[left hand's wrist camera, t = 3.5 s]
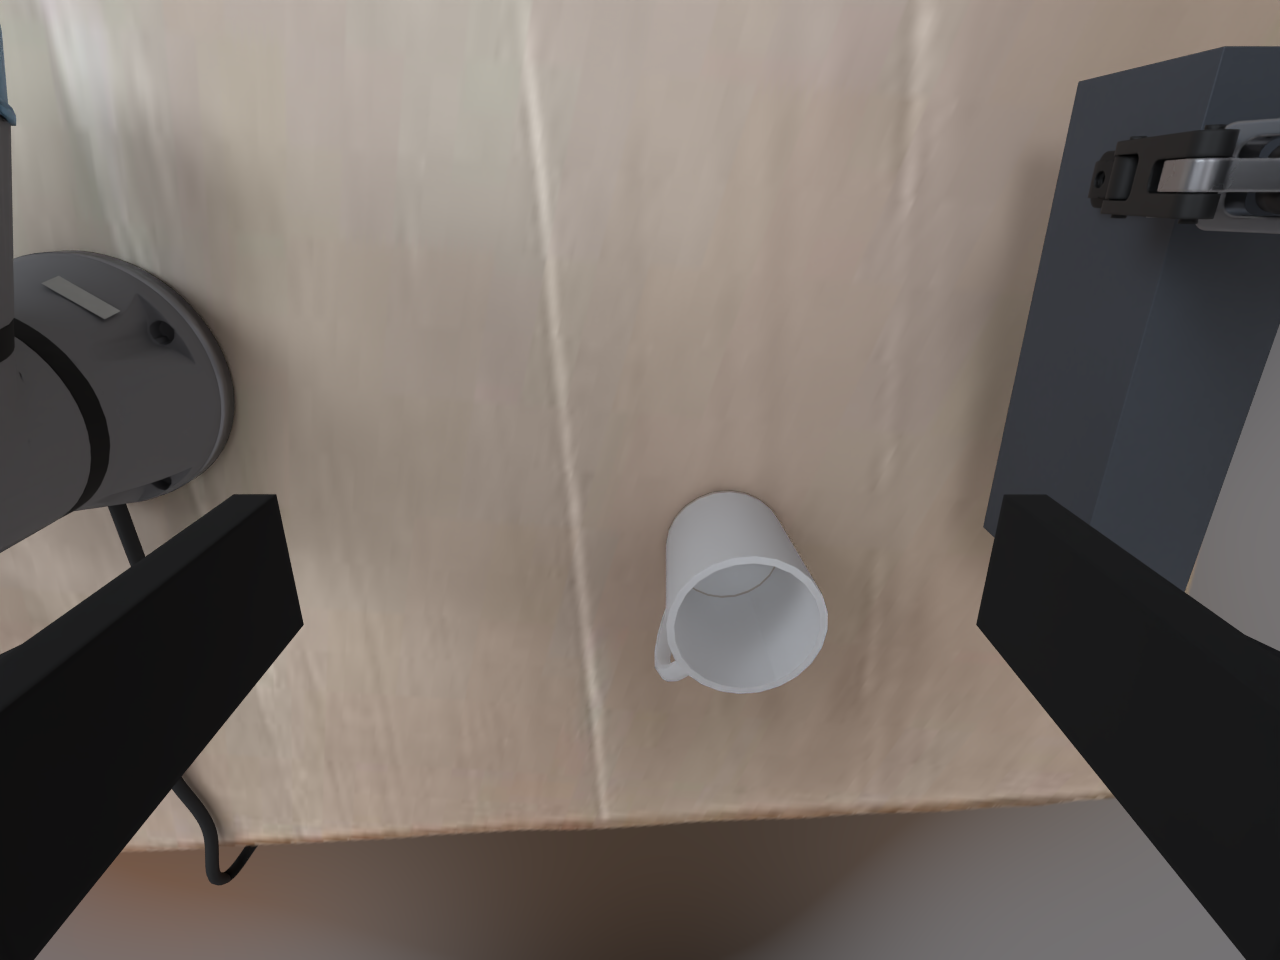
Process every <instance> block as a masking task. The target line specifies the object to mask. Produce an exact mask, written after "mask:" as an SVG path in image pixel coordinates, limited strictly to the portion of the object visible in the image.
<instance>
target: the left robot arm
mask: <svg viewBox="0 0 1280 960" xmlns="http://www.w3.org/2000/svg"><path fill="white" fill-rule="evenodd" d="M11 126H16V115H15V113H14V111H13V109H12V107H11V106H10V105H9V104H8V99H7V87H6V75H5V64H4V52H3V41H2V31H1V26H0V553H1V552H3V551H4V550H6V549H8V548H10V547H11V546H13V545H15V544H16V543H18V542H20V541H22V540H23V539H25V538H27V537H29V536H30V535H32V534H34V533H36V532H37V531H39V530H41V529H43V528H44V527H46V526H48V525H49V524H51V523H53V522H55V521H56V520H58V519H60V518H62V517H64V516H65V515H67V514H69V513H71V512H73V511H78V510H85V509H92V508H99V507H106V506H108V508H109V510H110V513H111V516H112V518H113V521H114V524H115V526H116V529H117V532H118V534H119V537H120V540H121V542H122V545H123V547H124V550H125V553H126V555H127V558H128V560H129V563H130V565H131V567H130V568H129V569H128V570H126V571H125V572H123V573H122V574H121V575H119V576H118V577H116V578H115V579H113V580H112V581H111V582H109V583H108V584H106V585H105V586H104V587H102V588H101V589H99V590H98V591H97V592H95V593H94V594H92V595H91V596H89V597H88V598H87V599H85V600H84V601H82V602H81V603H80V604H78V605H77V606H75V607H74V608H72V609H71V610H70V611H68V612H67V613H65V614H64V615H63V616H61V617H60V618H58V619H57V620H56V621H54V622H53V623H51V624H50V625H48V626H47V627H46V628H44V629H43V630H41V631H40V632H39V633H37V634H36V635H34V636H33V637H31V638H30V639H29V640H27V641H26V642H24V643H23V644H21V645H19V646H17V647H15V648H13V649H11V650H9V651H7V652H5V653H2V654H0V960H34V959H35V958H36V956H37V955H38V954H39V953H40V951H41V950H42V949H43V948H44V946H45V945H46V944H47V943H48V942H49V940H50V939H51V938H52V937H53V935H54V934H55V933H56V932H57V930H58V929H59V928H60V927H61V925H62V924H63V923H64V922H65V920H66V919H67V918H68V917H69V915H70V914H71V913H72V912H73V910H74V909H75V908H76V907H77V906H78V904H79V903H80V902H81V900H82V899H83V898H84V897H85V896H86V894H87V893H88V892H89V891H90V889H91V888H92V887H93V886H94V884H95V883H96V882H97V881H98V879H99V878H100V877H101V876H102V874H103V873H104V872H105V871H106V870H107V868H108V867H109V866H110V865H111V863H112V862H113V861H114V860H115V858H116V857H117V856H118V855H119V853H120V852H121V851H122V850H123V848H124V847H125V846H126V845H127V843H128V842H129V841H130V840H131V838H132V837H133V836H134V835H135V834H136V832H137V831H138V830H139V829H140V827H141V826H142V825H143V824H144V822H145V821H146V820H147V819H148V817H149V816H150V815H151V814H152V812H153V811H154V810H155V809H156V807H157V806H158V805H159V804H160V802H161V801H162V800H163V799H164V797H165V796H166V795H167V794H168V793H169V791H170V790H171V789H172V790H173V791H174V792H175V794H176V795H177V796H178V797H179V798H180V800H181V801H182V802H183V803H184V804H185V806H186V807H187V808H188V809H189V810H190V812H191V813H192V814H193V816H194V817H195V819H196V820H197V822H198V823H199V826H200V828H201V830H202V833H203V836H204V842H205V867H206V874H207V877H208V879H209V881H210V882H211V883H212V884H215V885H223V884H226V883H228V882H230V881H231V880H232V879H233V878H234V877H235V876H236V875H237V874H238V873H239V872H240V871H241V869H242V868H243V867H244V865H245V864H246V862H247V861H248V859H249V858H250V857H251V855H252V854H253V852H254V851H255V849H256V848H257V846H258V845H246V846H245V847H244V849H243V850H242V852H241V853H240V855H239V856H238V857H237V859H236V860H235V861H234V863H233V864H232V865H231V866H230V867H229V868H228V869H227V870H226V871H225V872H222V873H221V872H220V869H219V845H218V835H217V830H216V827H215V824H214V822H213V820H212V818H211V816H210V814H209V812H208V811H207V809H206V808H205V806H204V805H203V804H202V802H201V801H200V800H199V798H198V797H197V796H196V795H195V794H194V792H193V791H192V790H191V789H190V788H189V786H188V785H187V784H186V782H185V781H184V780H183V778H182V777H181V776H182V775H183V774H184V773H185V771H186V770H187V769H188V768H189V766H190V765H191V764H192V763H193V761H194V760H195V759H196V758H197V757H198V755H199V754H200V753H201V752H202V750H203V749H204V748H205V747H206V745H207V744H208V743H209V742H210V740H211V739H212V738H213V737H214V735H215V734H216V733H217V732H218V730H219V729H220V728H221V727H222V725H223V724H224V723H225V722H226V721H227V719H228V718H229V717H230V716H231V714H232V713H233V712H234V711H235V709H236V708H237V707H238V706H239V704H240V703H241V702H242V701H243V699H244V698H245V697H246V696H247V694H248V693H249V692H250V691H251V689H252V688H253V687H254V686H255V685H256V683H257V682H258V681H259V680H260V678H261V677H262V676H263V675H264V673H265V672H266V671H267V670H268V668H269V667H270V666H271V665H272V663H273V662H274V661H275V660H276V658H277V657H278V656H279V655H280V653H281V652H282V651H283V650H284V649H285V647H286V646H287V645H288V644H289V642H290V641H291V640H292V639H293V637H294V636H295V635H296V634H297V632H298V631H299V630H300V629H301V627H302V626H303V625H304V624H303V619H302V614H301V610H300V605H299V600H298V595H297V591H296V586H295V581H294V576H293V572H292V567H291V562H290V557H289V553H288V548H287V543H286V538H285V534H284V529H283V524H282V519H281V515H280V510H279V505H278V500H277V496H276V494H234V495H232V496H231V497H229V498H228V499H227V500H225V501H224V502H222V503H221V504H220V505H218V506H217V507H215V508H214V509H212V510H211V511H210V512H208V513H207V514H205V515H204V516H203V517H201V518H200V519H198V520H197V521H195V522H194V523H193V524H191V525H190V526H188V527H187V528H186V529H184V530H183V531H181V532H180V533H179V534H177V535H176V536H174V537H173V538H171V539H170V540H169V541H167V542H166V543H164V544H163V545H162V546H160V547H159V548H157V549H156V550H154V551H153V552H152V553H150V554H149V555H147V556H146V557H145V554H144V552H143V549H142V546H141V544H140V541H139V538H138V536H137V533H136V530H135V527H134V525H133V522H132V519H131V516H130V513H129V511H128V508H127V505H126V503H133V502H140V501H144V500H149V499H152V498H155V497H158V496H161V495H164V494H167V493H169V492H172V491H174V490H176V489H178V488H179V487H181V486H183V485H185V484H186V483H188V482H189V481H191V480H193V479H194V478H196V477H197V476H199V475H200V474H201V473H203V472H204V471H205V470H206V469H207V468H208V467H210V466H211V465H212V463H213V462H214V461H215V460H216V459H217V457H218V456H219V454H220V453H221V451H222V450H223V448H224V446H225V444H226V442H227V440H228V437H229V434H230V431H231V427H232V423H233V415H234V393H233V385H232V380H231V376H230V372H229V369H228V366H227V363H226V360H225V358H224V355H223V353H222V351H221V349H220V347H219V345H218V343H217V341H216V339H215V337H214V336H213V334H212V333H211V331H210V329H209V328H208V327H207V325H206V324H205V323H204V321H203V320H202V318H201V317H200V316H199V315H198V314H197V313H196V311H195V310H194V309H193V308H192V307H191V306H190V305H189V304H188V303H187V302H186V301H185V300H184V299H183V298H182V297H181V296H180V295H179V294H178V293H176V292H175V291H174V290H173V289H172V288H170V287H169V286H168V285H166V284H165V283H164V282H162V281H161V280H159V279H158V278H156V277H155V276H153V275H151V274H150V273H148V272H146V271H144V270H142V269H140V268H138V267H136V266H134V265H132V264H130V263H127V262H125V261H122V260H120V259H117V258H114V257H110V256H107V255H103V254H98V253H93V252H85V251H56V252H44V253H34V254H29V255H24V256H21V257H18V258H15V259H13V218H12V166H11ZM976 625H977V626H978V627H979V629H980V630H981V631H982V632H983V634H984V635H985V636H986V637H987V639H988V640H989V641H990V642H991V644H992V645H993V646H994V647H995V649H996V650H997V651H998V652H999V653H1000V655H1001V656H1002V657H1003V658H1004V660H1005V661H1006V662H1007V663H1008V665H1009V666H1010V667H1011V668H1012V670H1013V671H1014V672H1015V673H1016V675H1017V676H1018V677H1019V678H1020V680H1021V681H1022V682H1023V683H1024V685H1025V686H1026V687H1027V688H1028V689H1029V691H1030V692H1031V693H1032V694H1033V696H1034V697H1035V698H1036V699H1037V701H1038V702H1039V703H1040V704H1041V706H1042V707H1043V708H1044V709H1045V711H1046V712H1047V713H1048V714H1049V716H1050V717H1051V718H1052V719H1053V721H1054V722H1055V723H1056V724H1057V725H1058V727H1059V728H1060V729H1061V730H1062V732H1063V733H1064V734H1065V735H1066V737H1067V738H1068V739H1069V740H1070V742H1071V743H1072V744H1073V745H1074V747H1075V748H1076V749H1077V750H1078V752H1079V753H1080V754H1081V755H1082V757H1083V758H1084V759H1085V760H1086V761H1087V763H1088V764H1089V765H1090V766H1091V768H1092V769H1093V770H1094V771H1095V773H1096V774H1097V775H1098V776H1099V778H1100V779H1101V780H1102V781H1103V783H1104V784H1105V785H1106V786H1107V788H1108V789H1109V790H1110V791H1111V793H1112V794H1113V795H1114V796H1115V798H1116V799H1117V800H1118V801H1119V802H1120V804H1121V805H1122V806H1123V807H1124V809H1125V810H1126V811H1127V812H1128V814H1129V815H1130V816H1131V817H1132V819H1133V820H1134V821H1135V822H1136V824H1137V825H1138V826H1139V827H1140V829H1141V830H1142V831H1143V832H1144V833H1145V835H1146V836H1147V837H1148V838H1149V840H1150V841H1151V842H1152V843H1153V845H1154V846H1155V847H1156V848H1157V850H1158V851H1159V852H1160V853H1161V855H1162V856H1163V857H1164V858H1165V860H1166V861H1167V862H1168V863H1169V865H1170V866H1171V867H1172V868H1173V870H1174V871H1175V872H1176V873H1177V874H1178V876H1179V877H1180V878H1181V879H1182V881H1183V882H1184V883H1185V884H1186V886H1187V887H1188V888H1189V889H1190V891H1191V892H1192V893H1193V894H1194V896H1195V897H1196V898H1197V899H1198V901H1199V902H1200V903H1201V904H1202V906H1203V907H1204V908H1205V909H1206V910H1207V912H1208V913H1209V914H1210V915H1211V917H1212V918H1213V919H1214V920H1215V922H1216V923H1217V924H1218V925H1219V927H1220V928H1221V929H1222V930H1223V932H1224V933H1225V934H1226V935H1227V937H1228V938H1229V939H1230V940H1231V942H1232V943H1233V944H1234V945H1235V946H1236V948H1237V949H1238V950H1239V951H1240V953H1241V954H1242V955H1243V956H1244V958H1245V959H1246V960H1280V651H1278V650H1276V649H1274V648H1271V647H1269V646H1267V645H1265V644H1263V643H1261V642H1259V641H1257V640H1254V639H1252V638H1250V637H1248V636H1246V635H1244V634H1243V633H1241V632H1240V631H1239V630H1237V629H1236V628H1234V627H1233V626H1232V625H1230V624H1229V623H1227V622H1226V621H1224V620H1223V619H1222V618H1220V617H1219V616H1217V615H1216V614H1215V613H1213V612H1212V611H1210V610H1209V609H1208V608H1206V607H1205V606H1203V605H1202V604H1200V603H1199V602H1198V601H1196V600H1195V599H1193V598H1192V597H1191V596H1189V595H1188V594H1186V593H1185V592H1183V591H1182V590H1181V589H1179V588H1178V587H1176V586H1175V585H1174V584H1172V583H1171V582H1169V581H1168V580H1167V579H1165V578H1164V577H1162V576H1161V575H1159V574H1158V573H1157V572H1155V571H1154V570H1152V569H1151V568H1150V567H1148V566H1147V565H1145V564H1144V563H1142V562H1141V561H1140V560H1138V559H1137V558H1135V557H1134V556H1133V555H1131V554H1130V553H1128V552H1127V551H1126V550H1124V549H1123V548H1121V547H1120V546H1118V545H1117V544H1116V543H1114V542H1113V541H1111V540H1110V539H1109V538H1107V537H1106V536H1104V535H1103V534H1101V533H1100V532H1099V531H1097V530H1096V529H1094V528H1093V527H1092V526H1090V525H1089V524H1087V523H1086V522H1085V521H1083V520H1082V519H1080V518H1079V517H1077V516H1076V515H1075V514H1073V513H1072V512H1070V511H1069V510H1068V509H1066V508H1065V507H1063V506H1062V505H1060V504H1059V503H1058V502H1056V501H1055V500H1053V499H1052V498H1051V497H1049V496H1048V495H1046V494H1004V496H1003V500H1002V505H1001V510H1000V515H999V519H998V524H997V529H996V534H995V538H994V543H993V548H992V553H991V557H990V562H989V567H988V572H987V576H986V581H985V586H984V591H983V595H982V600H981V605H980V610H979V614H978V619H977V624H976Z"/></svg>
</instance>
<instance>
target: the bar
mask: <svg viewBox="0 0 1280 960" xmlns="http://www.w3.org/2000/svg"><path fill="white" fill-rule="evenodd" d="M1274 118H1280V46H1225V47H1220V48H1216V49H1212V50H1208V51H1204V52H1200V53H1196V54H1191V55H1187V56H1183V57H1179V58H1175V59H1171V60H1167V61H1162V62H1158V63H1154V64H1150V65H1146V66H1142V67H1138V68H1133V69H1129V70H1125V71H1121V72H1117V73H1113V74H1109V75H1104V76H1100V77H1096V78H1092V79H1088V80H1084V81H1080V82H1079V83H1078V87H1077V92H1076V96H1075V101H1074V106H1073V110H1072V115H1071V120H1070V124H1069V129H1068V134H1067V138H1066V143H1065V148H1064V152H1063V157H1062V162H1061V166H1060V171H1059V176H1058V180H1057V185H1056V190H1055V194H1054V199H1053V204H1052V208H1051V213H1050V218H1049V222H1048V227H1047V232H1046V236H1045V241H1044V246H1043V250H1042V255H1041V260H1040V264H1039V269H1038V274H1037V278H1036V283H1035V288H1034V292H1033V297H1032V302H1031V306H1030V311H1029V316H1028V320H1027V325H1026V330H1025V334H1024V339H1023V344H1022V348H1021V353H1020V358H1019V362H1018V367H1017V372H1016V376H1015V381H1014V386H1013V390H1012V395H1011V400H1010V404H1009V409H1008V414H1007V418H1006V423H1005V428H1004V432H1003V437H1002V442H1001V446H1000V451H999V456H998V460H997V465H996V470H995V474H994V479H993V484H992V488H991V493H990V498H989V502H988V507H987V512H986V516H985V521H984V526H983V527H984V528H985V529H986V530H987V531H988V532H989V533H990V534H991V535H992V536H993V537H994V538H995V534H996V529H997V524H998V519H999V515H1000V510H1001V505H1002V500H1003V496H1004V494H1046V495H1048V496H1049V497H1051V498H1052V499H1053V500H1055V501H1056V502H1058V503H1059V504H1060V505H1062V506H1063V507H1065V508H1066V509H1068V510H1069V511H1070V512H1072V513H1073V514H1075V515H1076V516H1077V517H1079V518H1080V519H1082V520H1083V521H1085V522H1086V523H1087V524H1089V525H1090V526H1092V527H1093V528H1094V529H1096V530H1097V531H1099V532H1100V533H1101V534H1103V535H1104V536H1106V537H1107V538H1109V539H1110V540H1111V541H1113V542H1114V543H1116V544H1117V545H1118V546H1120V547H1121V548H1123V549H1124V550H1126V551H1127V552H1128V553H1130V554H1131V555H1133V556H1134V557H1135V558H1137V559H1138V560H1140V561H1141V562H1142V563H1144V564H1145V565H1147V566H1148V567H1150V568H1151V569H1152V570H1154V571H1155V572H1157V573H1158V574H1159V575H1161V576H1162V577H1164V578H1165V579H1167V580H1168V581H1169V582H1171V583H1172V584H1174V585H1175V586H1176V587H1178V588H1179V589H1181V590H1182V591H1183V592H1185V589H1186V586H1187V583H1188V581H1189V578H1190V575H1191V572H1192V569H1193V567H1194V564H1195V561H1196V558H1197V555H1198V552H1199V550H1200V547H1201V544H1202V541H1203V538H1204V536H1205V533H1206V530H1207V527H1208V524H1209V521H1210V519H1211V516H1212V513H1213V510H1214V507H1215V505H1216V502H1217V499H1218V496H1219V493H1220V490H1221V488H1222V485H1223V482H1224V479H1225V476H1226V474H1227V471H1228V468H1229V465H1230V462H1231V459H1232V457H1233V454H1234V451H1235V448H1236V445H1237V443H1238V440H1239V437H1240V434H1241V431H1242V428H1243V426H1244V423H1245V420H1246V417H1247V414H1248V412H1249V409H1250V406H1251V403H1252V400H1253V397H1254V395H1255V392H1256V389H1257V386H1258V383H1259V381H1260V378H1261V375H1262V372H1263V369H1264V366H1265V364H1266V361H1267V358H1268V355H1269V352H1270V350H1271V347H1272V344H1273V341H1274V338H1275V335H1276V333H1277V330H1278V327H1279V324H1280V234H1270V233H1248V232H1226V231H1205V230H1201V229H1199V228H1198V227H1197V226H1196V224H1177V223H1178V221H1179V219H1169V218H1148V217H1141V216H1127V217H1126V218H1110V216H1111V214H1100V212H1101V208H1094V207H1092V205H1091V201H1090V199H1091V198H1088V193H1089V189H1090V185H1091V181H1092V176H1093V172H1094V168H1095V163H1096V161H1100V159H1101V157H1102V155H1103V154H1104V153H1105V152H1107V151H1115V149H1116V145H1117V142H1118V141H1125V140H1130V137H1132V136H1147V137H1153V136H1160V135H1167V134H1174V133H1181V132H1188V131H1196V130H1204V128H1205V125H1213V124H1227V125H1229V124H1231V123H1233V122H1236V121H1247V120H1260V119H1274ZM1227 125H1226V126H1227ZM1279 145H1280V138H1277V139H1274V140H1272V141H1271V142H1269V143H1268V144H1267V145H1265V146H1264V148H1263V149H1262V151H1261V152H1260V155H1259V158H1268V156H1269V155H1270V153H1271V152H1272V151H1273V150H1274V149H1275V148H1277V147H1278V146H1279ZM1255 195H1256V192H1248V193H1247V196H1246V199H1245V208H1246V210H1247V212H1249V213H1250V214H1252V215H1257V216H1280V215H1278V214H1274V213H1269V212H1266V211H1263V210H1262V209H1260V208H1259V207H1258V205H1257V203H1256V200H1255Z"/></svg>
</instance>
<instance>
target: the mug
mask: <svg viewBox="0 0 1280 960" xmlns="http://www.w3.org/2000/svg"><path fill="white" fill-rule="evenodd" d="M827 624H828V612H827V609H826V605H825V602H824V599H823V596H822V593H821V591H820V590H819V588H818V586H817V585H816V583H815V581H814V579H813V578H812V576H811V574H810V573H809V571H808V569H807V568H806V566H805V564H804V562H803V561H802V559H801V557H800V556H799V554H798V552H797V551H796V549H795V547H794V546H793V544H792V542H791V540H790V539H789V537H788V535H787V534H786V532H785V530H784V529H783V527H782V525H781V523H780V522H779V520H778V518H777V517H776V515H775V514H774V513H773V511H772V510H771V508H770V507H768V506H767V505H766V504H765V503H763V502H762V501H761V500H760V499H758V498H756V497H753V496H751V495H749V494H746V493H742V492H736V491H718V492H712V493H709V494H706V495H703V496H700V497H698V498H697V499H695V500H693V501H692V502H690V503H689V504H687V505H686V506H685V507H684V508H683V509H682V510H681V511H680V512H679V513H678V514H677V515H676V517H675V518H674V520H673V522H672V524H671V526H670V528H669V531H668V536H667V540H666V609H665V611H664V614H663V617H662V620H661V624H660V627H659V631H658V635H657V640H656V646H655V669H656V670H657V671H658V673H659V674H660V676H661V677H662V679H664V680H666V681H679V680H681V679H683V678H685V677H687V676H690V677H692V678H693V679H695V680H696V681H698V682H699V683H700V684H702V685H705V686H708V687H710V688H713V689H715V690H718V691H723V692H730V693H737V694H743V693H756V692H762V691H765V690H769V689H772V688H775V687H779V686H781V685H783V684H784V683H786V682H788V681H790V680H792V679H793V678H795V677H797V676H798V675H799V674H800V673H801V672H802V671H804V670H805V669H806V668H807V667H808V666H809V665H810V664H811V663H812V662H813V660H814V659H815V657H816V656H817V654H818V653H819V651H820V650H821V648H822V646H823V642H824V639H825V636H826V633H827ZM671 652H672V654H673V657H674V659H675V661H674V662H672V663H671V662H670V658H671Z"/></svg>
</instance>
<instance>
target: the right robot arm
mask: <svg viewBox="0 0 1280 960" xmlns="http://www.w3.org/2000/svg"><path fill="white" fill-rule="evenodd" d="M1226 125H1227V124H1213V125H1205V128H1204V130H1196V131H1188V132H1181V133H1174V134H1167V135H1160V136H1153V137H1147V136H1132V137H1130V140H1125V141H1118V142H1117V145H1116V149H1115V151H1107V152H1105V153H1104V154H1103V155H1102V157H1101V159H1100V161H1096V163H1095V168H1094V172H1093V176H1092V181H1091V185H1090V189H1089V193H1088V198H1091V199H1090V201H1091V205H1092V207H1094V208H1101V212H1100V214H1111V216H1110V218H1126V217H1127V216H1141V217H1148V218H1169V219H1179V221H1178V223H1177V224H1196V226H1197V227H1198V228H1199V229H1201V230H1205V231H1226V232H1248V233H1270V234H1280V216H1257V215H1252V214H1250V213H1249V212H1247V210H1246V208H1245V199H1246V196H1247V193H1248V192H1256V195H1255V200H1256V203H1257V205H1258V207H1259V208H1260V209H1262V210H1263V211H1266V212H1269V213H1274V214H1278V215H1280V145H1279V146H1278V147H1277V148H1275V149H1274V150H1273V151H1272V152H1271V153H1270V155H1269V156H1268V158H1259V155H1260V152H1261V151H1262V149H1263V148H1264V146H1265V145H1267V144H1268V143H1269V142H1271V141H1272V140H1274V139H1277V138H1280V118H1274V119H1260V120H1247V121H1236V122H1233V123H1231V124H1229V125H1227V126H1226Z"/></svg>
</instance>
